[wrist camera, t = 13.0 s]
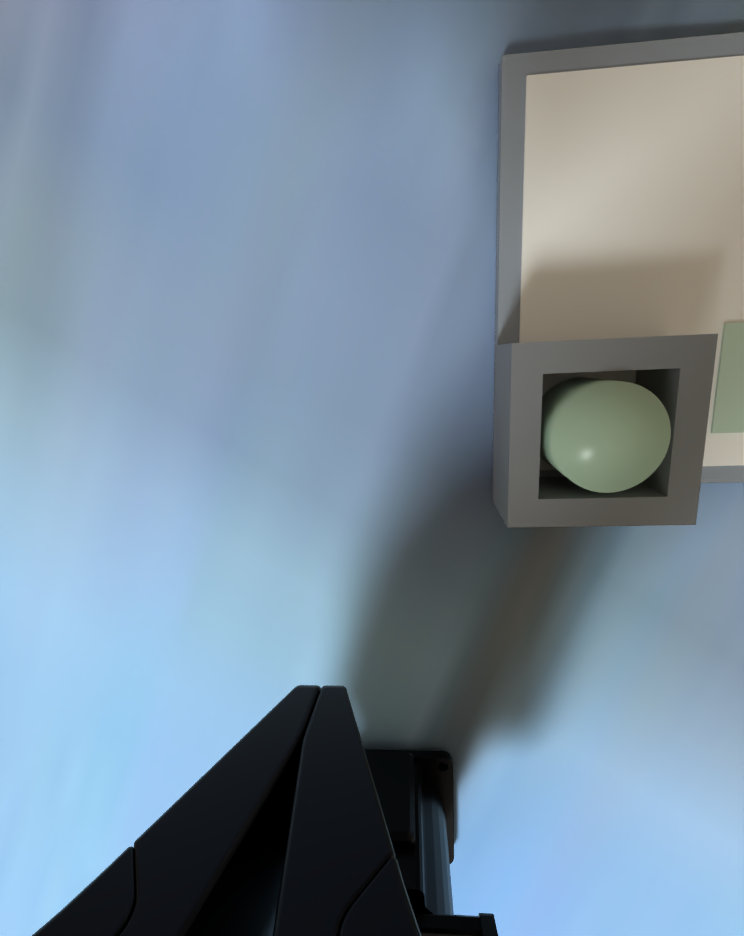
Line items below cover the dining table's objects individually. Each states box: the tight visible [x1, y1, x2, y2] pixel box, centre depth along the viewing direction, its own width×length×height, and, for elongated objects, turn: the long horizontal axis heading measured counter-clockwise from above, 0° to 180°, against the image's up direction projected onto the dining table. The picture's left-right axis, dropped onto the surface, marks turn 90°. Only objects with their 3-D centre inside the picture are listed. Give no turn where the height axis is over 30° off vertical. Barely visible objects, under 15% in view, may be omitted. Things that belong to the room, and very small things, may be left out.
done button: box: [540, 377, 671, 493], centre depth 16 cm, size 4×4×3 cm
